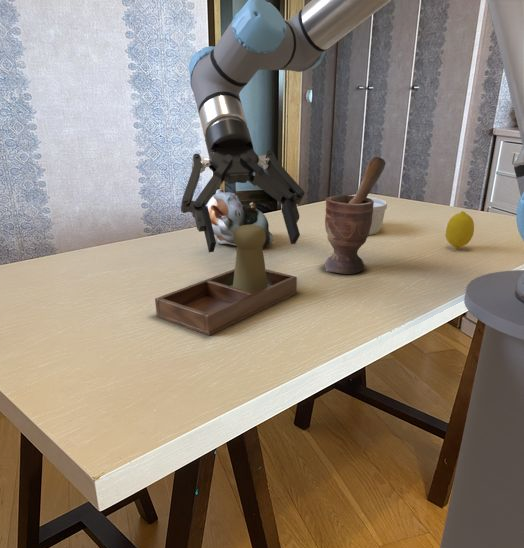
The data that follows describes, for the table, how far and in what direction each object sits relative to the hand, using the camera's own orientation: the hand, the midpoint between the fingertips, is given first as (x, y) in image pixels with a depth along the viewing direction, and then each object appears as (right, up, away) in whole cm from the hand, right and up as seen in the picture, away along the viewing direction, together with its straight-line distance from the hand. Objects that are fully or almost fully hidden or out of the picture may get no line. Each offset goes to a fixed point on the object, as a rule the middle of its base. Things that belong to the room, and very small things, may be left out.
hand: (255, 243), depth 83 cm
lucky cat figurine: (-4, +7, +35) cm, 35 cm away
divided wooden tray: (-4, -9, +3) cm, 10 cm away
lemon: (+43, +5, +31) cm, 53 cm away
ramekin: (+24, +12, +46) cm, 53 cm away
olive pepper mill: (-1, -7, +6) cm, 9 cm away
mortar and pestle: (+18, -1, +20) cm, 27 cm away
